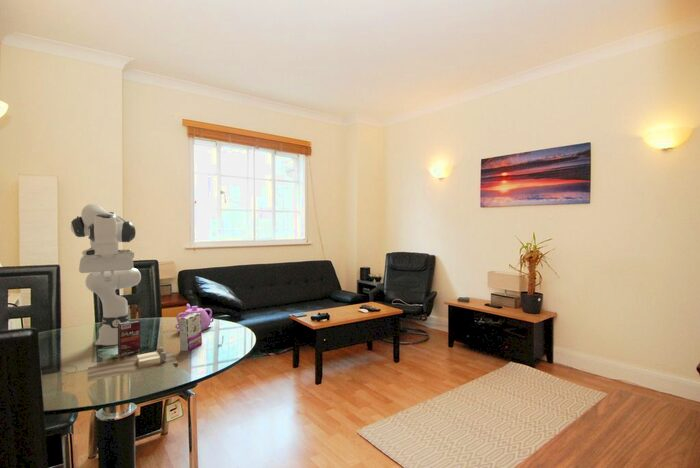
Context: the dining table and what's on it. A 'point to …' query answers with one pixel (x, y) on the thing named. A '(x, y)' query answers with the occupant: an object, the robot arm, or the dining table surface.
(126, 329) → the supplement box
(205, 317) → the teapot
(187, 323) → the candy bar box
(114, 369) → the board
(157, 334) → the dining table surface
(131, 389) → the dining table surface
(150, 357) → the birch plate
